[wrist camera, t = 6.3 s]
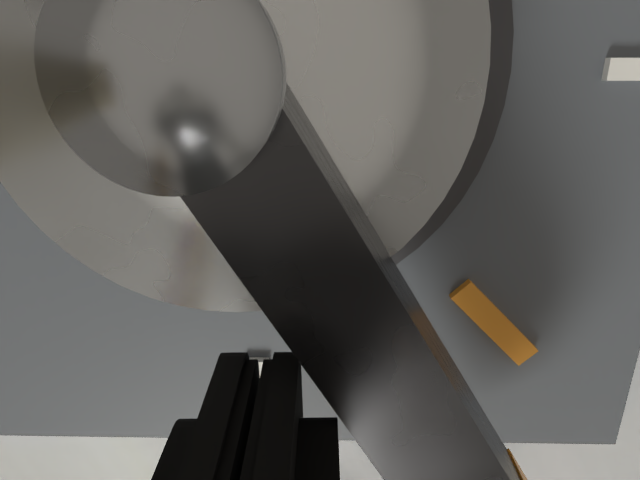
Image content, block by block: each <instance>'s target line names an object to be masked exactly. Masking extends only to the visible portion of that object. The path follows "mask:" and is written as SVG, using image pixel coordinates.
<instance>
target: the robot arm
mask: <svg viewBox="0 0 640 480" xmlns="http://www.w3.org/2000/svg"><path fill="white" fill-rule="evenodd" d="M151 480H340V471H339V444H338V419H337V417H319V418H303V397H302V372H301V364H300V362H299V361H298V360H297V358H296V357H295V356H294V354H293V353H292V352H274V354H273V359H264V360H263V364H262V369H261V374H260V375H259V363H258V360H257V359H249V355H248V353H247V352H227V353H220V355H219V357H218V360H217V363H216V366H215V369H214V372H213V375H212V378H211V380H210V383H209V386H208V389H207V392H206V395H205V398H204V400H203V403H202V406H201V409H200V412H199V415H198V418H197V419H178V420H177V421H176V422H175V424H174V426H173V428H172V430H171V432H170V435H169V437H168V440H167V442H166V445H165V447H164V450H163V452H162V455H161V457H160V459H159V462H158V464H157V467H156V469H155V472H154V474H153V477H152V479H151Z"/></svg>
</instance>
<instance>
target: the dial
mask: <svg viewBox="0 0 640 480" xmlns="http://www.w3.org/2000/svg"><path fill="white" fill-rule="evenodd" d="M490 47H491V21H490V10H489V0H0V182H1V183H2V185H3V186H4V187H5V189H6V190H7V191H8V193H9V194H10V195H11V197H12V198H13V199H14V201H15V202H16V203H17V205H18V206H19V207H20V208H21V209H22V210H23V211H24V212H25V214H26V215H27V216H28V217H29V218H30V219H31V220H32V221H33V222H34V223H35V224H36V225H37V226H38V227H39V229H40V230H41V231H42V232H44V233H45V234H46V235H47V236H48V237H49V238H51V239H52V240H53V241H54V242H55V243H56V244H57V245H59V246H60V247H61V248H62V249H63V250H64V251H66V252H67V253H68V254H70V255H71V256H73V257H74V258H75V259H77V260H78V261H80V262H81V263H83V264H84V265H86V266H87V267H88V268H90V269H91V270H93V271H94V272H96V273H98V274H100V275H102V276H104V277H106V278H107V279H109V280H111V281H113V282H115V283H117V284H118V285H120V286H122V287H125V288H127V289H130V290H132V291H135V292H137V293H140V294H142V295H144V296H147V297H149V298H153V299H156V300H160V301H163V302H167V303H170V304H174V305H177V306H182V307H188V308H194V309H200V310H206V311H222V312H250V311H263V312H264V314H265V315H266V317H267V318H268V319H269V321H270V322H271V324H272V325H273V326H274V328H275V329H276V331H277V332H278V333H279V335H280V336H281V337H282V339H283V340H284V342H285V343H286V344H287V346H288V347H289V349H290V350H291V351H292V353H293V354H294V356H295V357H296V358H297V360H298V361H299V362H300V364H301V365H302V367H303V368H304V369H305V371H306V372H307V374H308V375H309V376H310V378H311V379H312V380H313V382H314V383H315V385H316V386H317V387H318V389H319V390H320V392H321V393H322V394H323V396H324V397H325V399H326V400H327V401H328V403H329V404H330V405H331V407H332V408H333V410H334V411H335V412H336V414H337V415H338V417H339V418H340V419H341V421H342V422H343V424H344V425H345V426H346V428H347V429H348V430H349V432H350V433H351V435H352V436H353V437H354V439H355V440H356V442H357V443H358V444H359V446H360V447H361V448H362V450H363V451H364V453H365V454H366V455H367V457H368V458H369V460H370V461H371V462H372V464H373V465H374V467H375V468H376V469H377V471H378V472H379V473H380V475H381V476H382V478H383V479H384V480H527V478H526V476H525V475H524V473H523V471H522V470H521V468H520V466H519V465H518V463H517V461H516V460H515V458H514V456H513V455H512V453H511V451H510V450H509V449H506V447H505V446H504V444H503V442H502V441H501V439H500V437H499V436H498V434H497V432H496V431H495V429H494V427H493V426H492V424H491V422H490V421H489V419H488V417H487V416H486V414H485V412H484V411H483V409H482V407H481V406H480V404H479V402H478V401H477V399H476V397H475V396H474V394H473V392H472V391H471V389H470V387H469V386H468V384H467V382H466V381H465V379H464V377H463V376H462V374H461V372H460V371H459V369H458V367H457V366H456V364H455V362H454V361H453V359H452V357H451V356H450V354H449V352H448V351H447V349H446V347H445V346H444V344H443V342H442V341H441V339H440V337H439V336H438V334H437V332H436V331H435V329H434V327H433V326H432V324H431V322H430V321H429V319H428V317H427V316H426V314H425V312H424V311H423V309H422V307H421V306H420V304H419V302H418V301H417V299H416V297H415V296H414V294H413V292H412V291H411V289H410V287H409V286H408V284H407V282H406V281H405V279H404V277H403V276H402V274H401V272H400V271H399V269H398V267H397V266H396V264H395V262H394V261H393V259H392V256H393V255H394V254H395V253H397V252H398V251H399V250H400V249H402V248H403V247H404V246H405V245H406V244H407V243H408V242H409V241H410V240H411V239H412V237H413V236H414V235H415V234H416V233H417V232H418V231H419V230H420V229H421V228H422V227H423V226H424V225H425V224H426V222H427V221H428V220H429V218H430V217H431V216H432V214H433V213H434V212H435V210H436V209H437V208H438V206H439V205H440V204H441V202H442V201H443V200H444V198H445V197H446V195H447V193H448V191H449V190H450V188H451V186H452V184H453V183H454V181H455V179H456V177H457V176H458V174H459V172H460V170H461V168H462V166H463V164H464V161H465V159H466V157H467V154H468V152H469V149H470V147H471V145H472V142H473V140H474V137H475V134H476V130H477V127H478V123H479V120H480V116H481V113H482V109H483V105H484V101H485V95H486V88H487V82H488V75H489V69H490Z"/></svg>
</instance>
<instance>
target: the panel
mask: <svg viewBox="0 0 640 480" xmlns="http://www.w3.org/2000/svg"><path fill="white" fill-rule="evenodd" d="M489 10H490V21H491V47H490V69H489V75H488V82H487V88H486V95H485V101H484V105H483V109H482V113H481V116H480V120H479V123H478V127H477V130H476V134H475V137H474V140H473V142H472V145H471V147H470V149H469V152H468V154H467V157H466V159H465V161H464V164H463V166H462V168H461V170H460V172H459V174H458V176H457V177H456V179H455V181H454V183H453V184H452V186H451V188H450V190H449V191H448V193H447V195H446V197H445V198H444V200H443V201H442V202H441V204H440V205H439V206H438V208H437V209H436V210H435V212H434V213H433V214H432V216H431V217H430V218H429V220H428V221H427V222H426V224H425V225H424V226H423V227H422V228H421V229H420V230H419V231H418V232H417V233H416V234H415V235H414V236H413V237H412V239H411V240H410V241H409V242H408V243H407V244H406V245H405V246H404V247H403V248H402V249H400V250H399V251H398V252H397V253H395V254H394V255H393V256H392V259H393V261H394V262H395V264H396V266H397V267H398V269H399V271H400V272H401V274H402V276H403V277H404V279H405V281H406V282H407V284H408V286H409V287H410V289H411V291H412V292H413V294H414V296H415V297H416V299H417V301H418V302H419V304H420V306H421V307H422V309H423V311H424V312H425V314H426V316H427V317H428V319H429V321H430V322H431V324H432V326H433V327H434V329H435V331H436V332H437V334H438V336H439V337H440V339H441V341H442V342H443V344H444V346H445V347H446V349H447V351H448V352H449V354H450V356H451V357H452V359H453V361H454V362H455V364H456V366H457V367H458V369H459V371H460V372H461V374H462V376H463V377H464V379H465V381H466V382H467V384H468V386H469V387H470V389H471V391H472V392H473V394H474V396H475V397H476V399H477V401H478V402H479V404H480V406H481V407H482V409H483V411H484V412H485V414H486V416H487V417H488V419H489V421H490V422H491V424H492V426H493V427H494V429H495V431H496V432H497V434H498V436H499V437H500V439H501V441H502V442H503V443H562V444H615V443H616V439H617V435H618V432H619V428H620V424H621V420H622V416H623V412H624V408H625V404H626V400H627V396H628V393H629V389H630V385H631V381H632V377H633V373H634V369H635V365H636V361H637V358H638V354H639V350H640V0H489ZM227 352H247V353H248V355H249V359H257V360H258V363H259V375H260V374H261V369H262V364H263V360H264V359H273V354H274V352H292V351H291V350H290V349H289V347H288V346H287V344H286V343H285V342H284V340H283V339H282V337H281V336H280V335H279V333H278V332H277V331H276V329H275V328H274V326H273V325H272V324H271V322H270V321H269V319H268V318H267V317H266V315H265V314H264V312H263V311H250V312H222V311H206V310H200V309H194V308H188V307H182V306H177V305H174V304H170V303H167V302H163V301H160V300H156V299H153V298H149V297H147V296H144V295H142V294H140V293H137V292H135V291H132V290H130V289H127V288H125V287H122V286H120V285H118V284H117V283H115V282H113V281H111V280H109V279H107V278H106V277H104V276H102V275H100V274H98V273H96V272H94V271H93V270H91V269H90V268H88V267H87V266H86V265H84V264H83V263H81V262H80V261H78V260H77V259H75V258H74V257H73V256H71V255H70V254H68V253H67V252H66V251H64V250H63V249H62V248H61V247H60V246H59V245H57V244H56V243H55V242H54V241H53V240H52V239H51V238H49V237H48V236H47V235H46V234H45V233H44V232H42V231H41V230H40V229H39V227H38V226H37V225H36V224H35V223H34V222H33V221H32V220H31V219H30V218H29V217H28V216H27V215H26V214H25V212H24V211H23V210H22V209H21V208H20V207H19V206H18V205H17V203H16V202H15V201H14V199H13V198H12V197H11V195H10V194H9V193H8V191H7V190H6V189H5V187H4V186H3V185H2V183H1V182H0V435H21V436H89V437H157V438H168V437H169V435H170V432H171V430H172V428H173V426H174V424H175V422H176V421H177V420H178V419H197V418H198V415H199V412H200V409H201V406H202V403H203V400H204V398H205V395H206V392H207V389H208V386H209V383H210V380H211V378H212V375H213V372H214V369H215V366H216V363H217V360H218V357H219V355H220V353H227ZM301 372H302V397H303V418H319V417H337V419H338V440H355V439H354V437H353V436H352V435H351V433H350V432H349V430H348V429H347V428H346V426H345V425H344V424H343V422H342V421H341V419H340V418H339V417H338V415H337V414H336V412H335V411H334V410H333V408H332V407H331V405H330V404H329V403H328V401H327V400H326V399H325V397H324V396H323V394H322V393H321V392H320V390H319V389H318V387H317V386H316V385H315V383H314V382H313V380H312V379H311V378H310V376H309V375H308V374H307V372H306V371H305V369H304V368H303V367H302V365H301Z"/></svg>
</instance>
